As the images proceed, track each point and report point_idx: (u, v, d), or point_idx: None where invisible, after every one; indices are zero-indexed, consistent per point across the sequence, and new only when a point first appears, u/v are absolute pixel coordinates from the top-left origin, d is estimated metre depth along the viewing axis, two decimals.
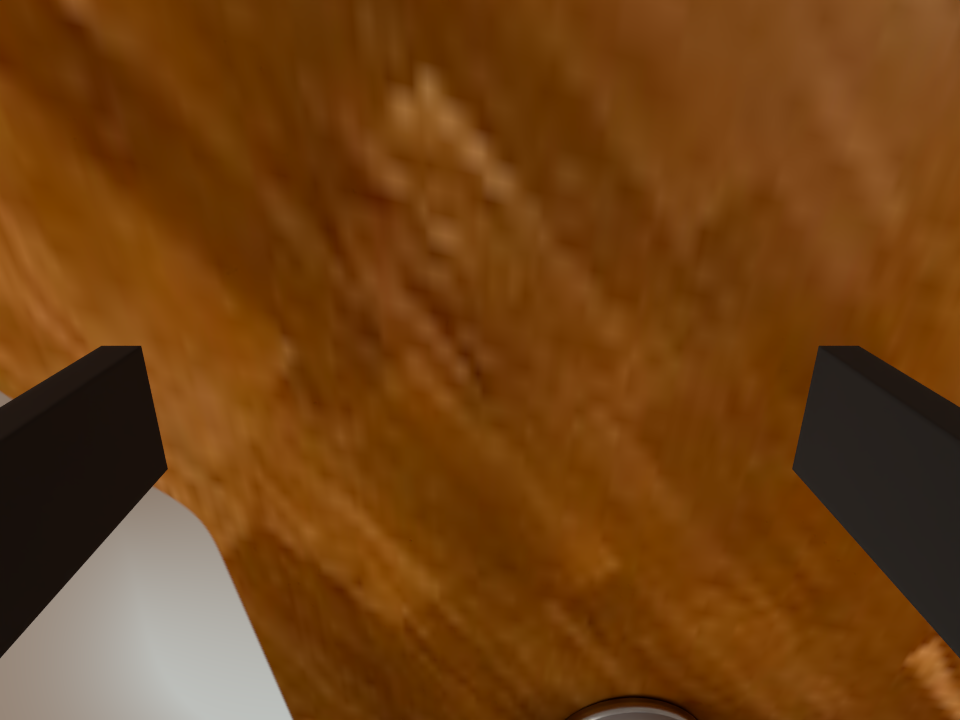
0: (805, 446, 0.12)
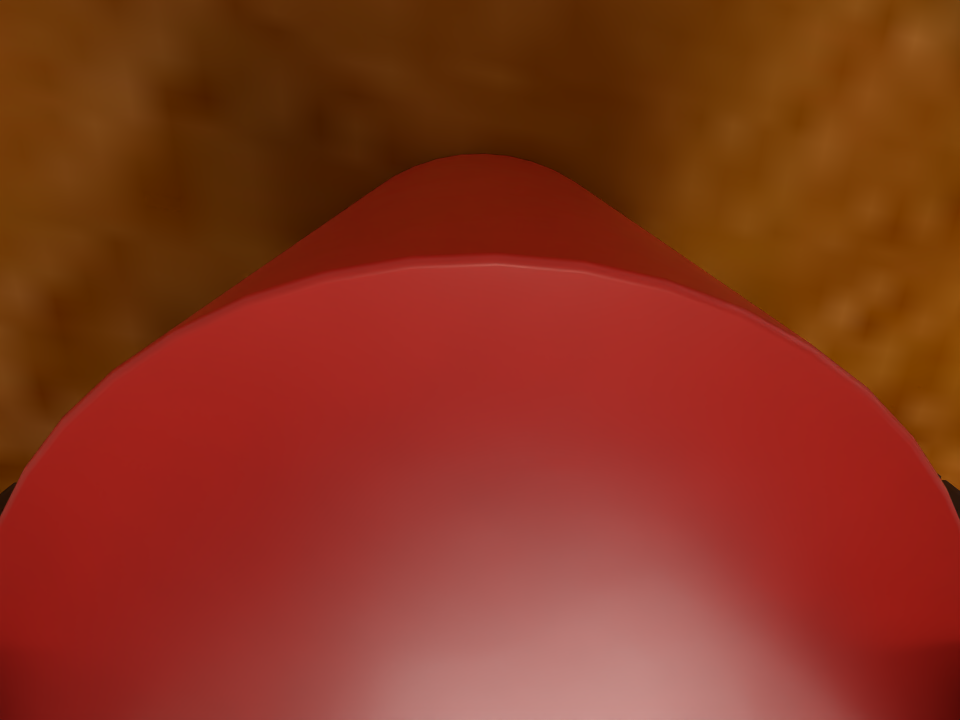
0: None
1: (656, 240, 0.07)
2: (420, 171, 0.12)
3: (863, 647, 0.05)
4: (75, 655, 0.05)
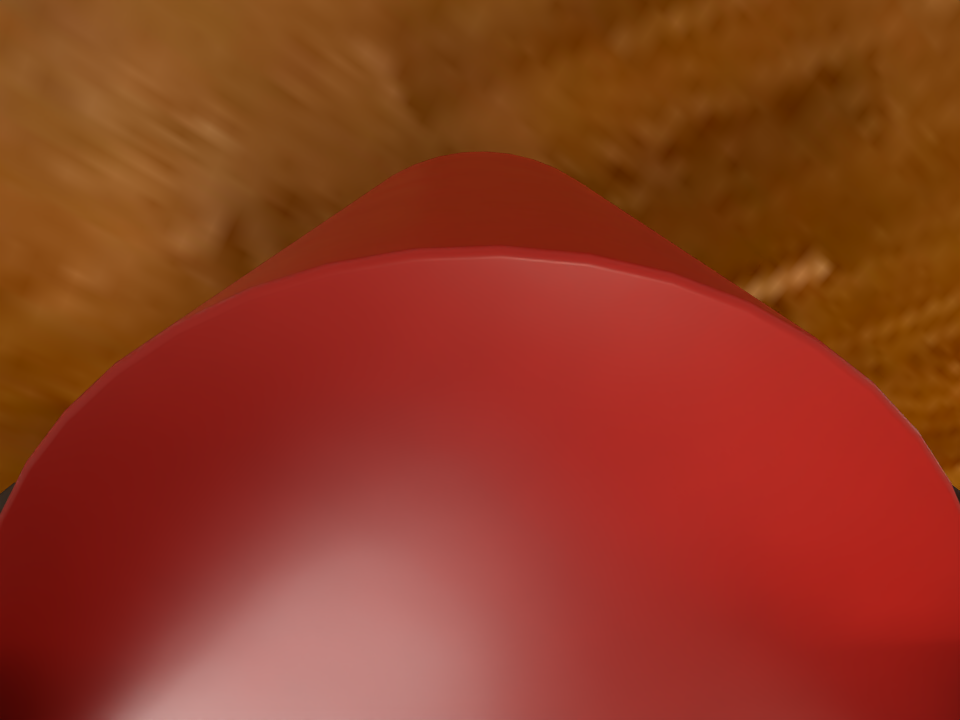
0: None
1: (659, 236, 0.07)
2: (421, 168, 0.12)
3: (867, 642, 0.05)
4: (77, 650, 0.05)
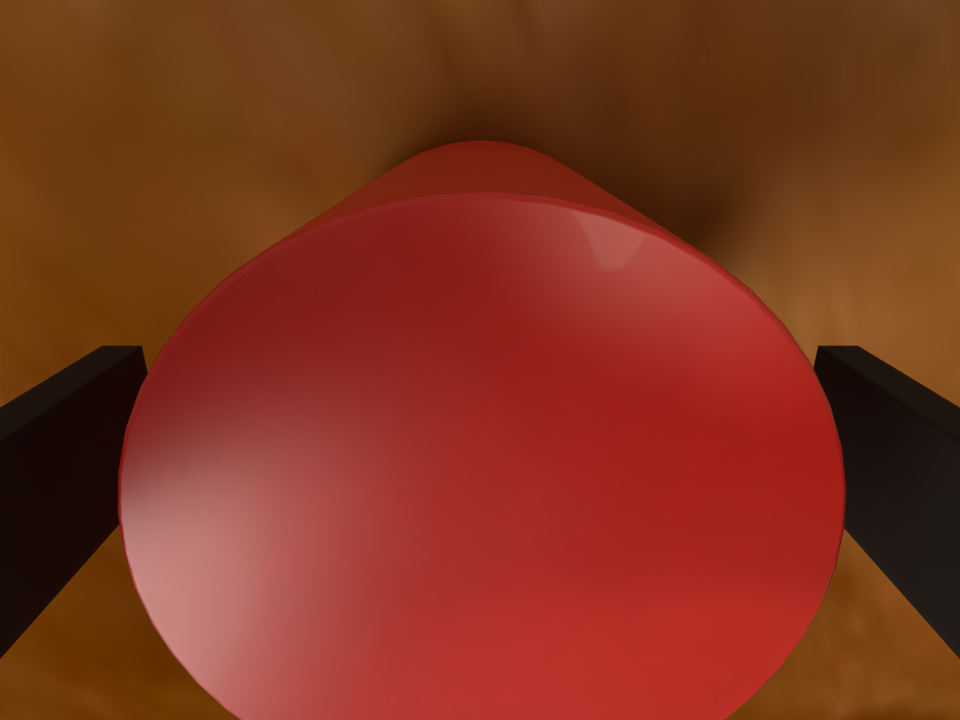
0: None
1: (620, 201, 0.09)
2: (430, 153, 0.14)
3: (759, 487, 0.07)
4: (188, 493, 0.07)
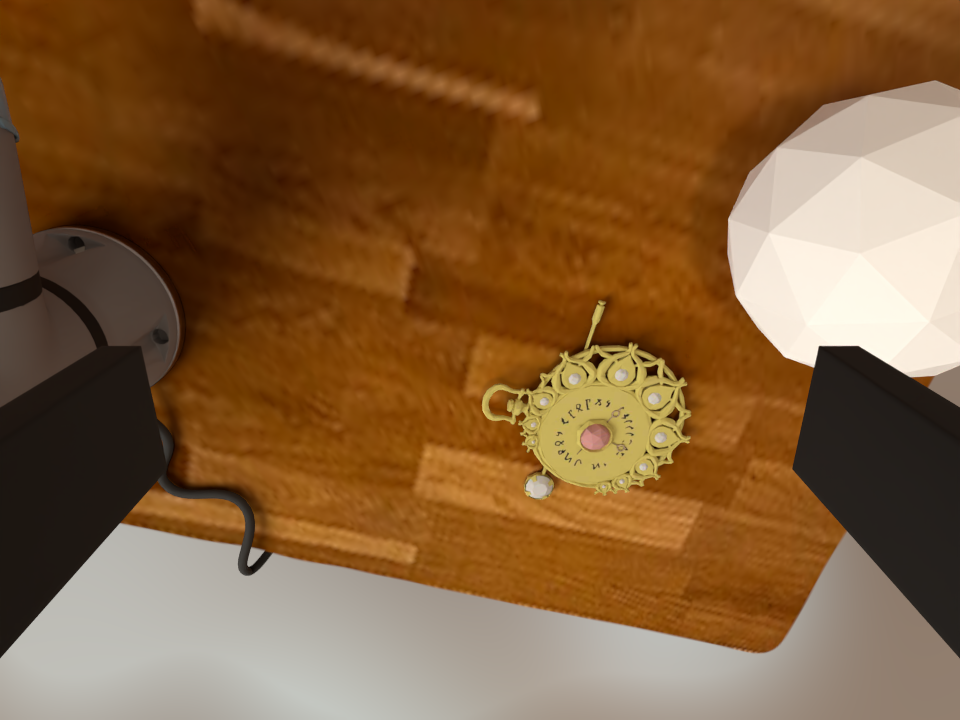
0: (804, 446, 0.12)
1: None
2: None
3: None
4: None
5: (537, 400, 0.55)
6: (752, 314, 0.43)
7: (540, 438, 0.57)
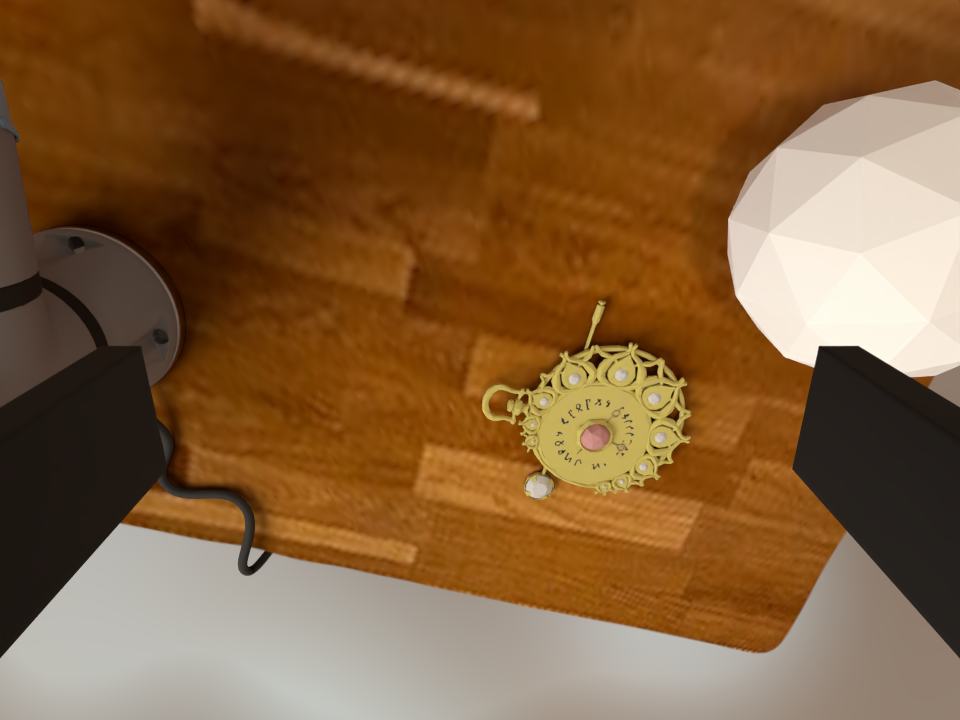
0: (804, 446, 0.12)
1: None
2: None
3: None
4: None
5: (537, 400, 0.55)
6: (752, 314, 0.43)
7: (540, 438, 0.57)
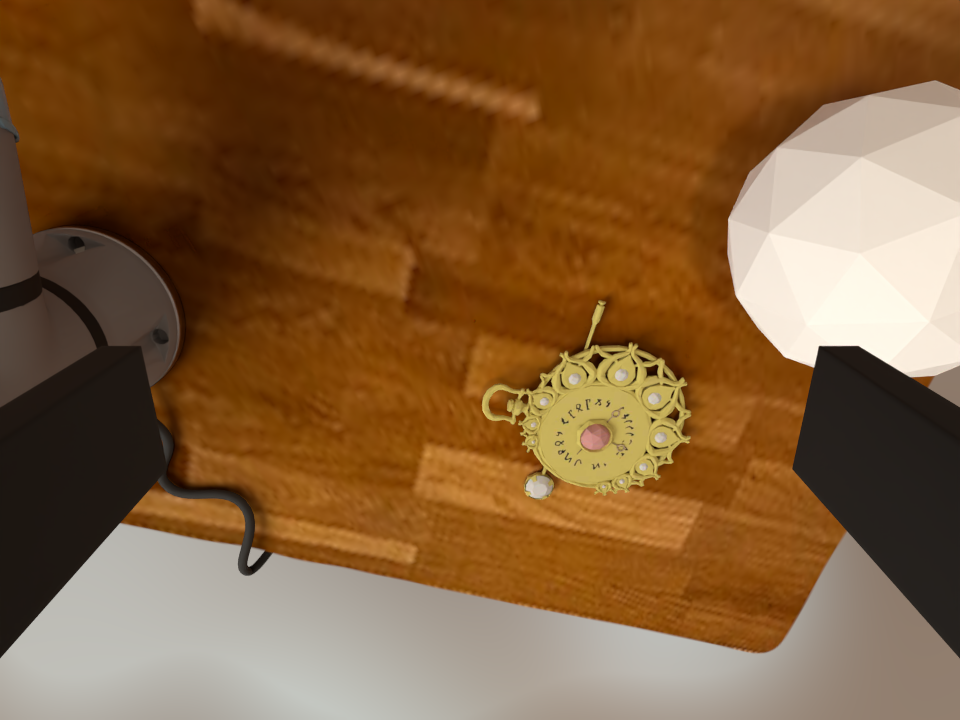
0: (804, 446, 0.12)
1: None
2: None
3: None
4: None
5: (537, 400, 0.55)
6: (752, 314, 0.43)
7: (540, 438, 0.57)
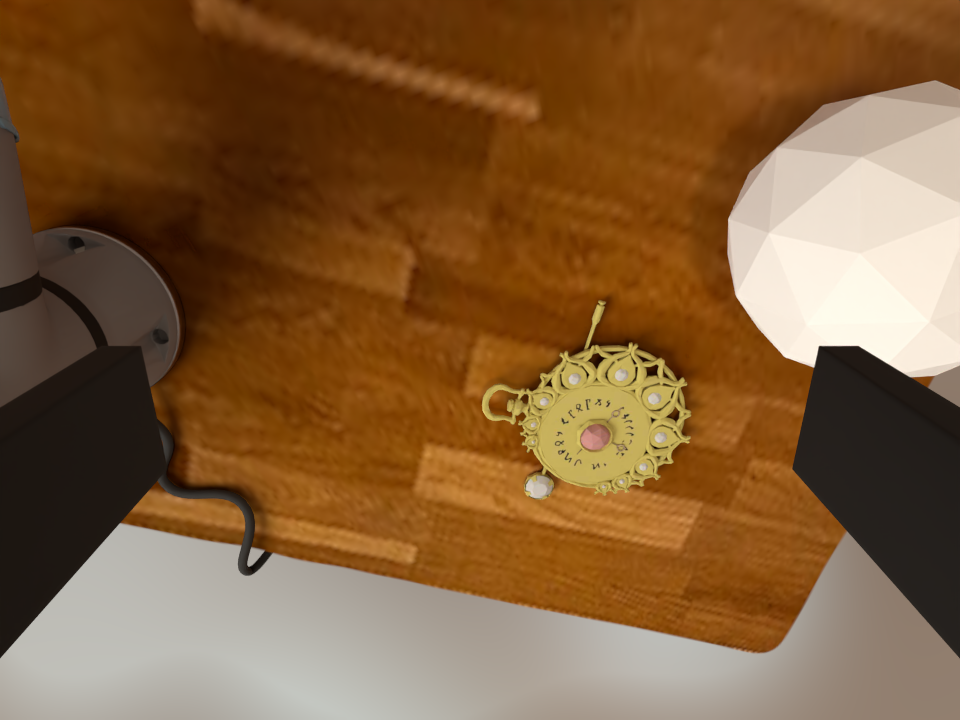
0: (804, 446, 0.12)
1: None
2: None
3: None
4: None
5: (537, 400, 0.55)
6: (752, 314, 0.43)
7: (540, 438, 0.57)
